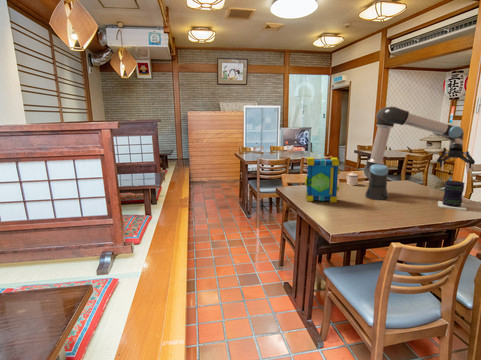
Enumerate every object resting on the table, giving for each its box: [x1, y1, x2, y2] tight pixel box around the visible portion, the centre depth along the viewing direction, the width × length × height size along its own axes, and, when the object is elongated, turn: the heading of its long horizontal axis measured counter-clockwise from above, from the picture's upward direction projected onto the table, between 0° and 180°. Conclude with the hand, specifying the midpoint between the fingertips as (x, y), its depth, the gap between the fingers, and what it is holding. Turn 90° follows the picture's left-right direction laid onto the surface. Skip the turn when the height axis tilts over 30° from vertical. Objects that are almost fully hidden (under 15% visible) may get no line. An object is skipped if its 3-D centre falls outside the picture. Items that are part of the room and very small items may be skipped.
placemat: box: [437, 200, 467, 212], centre depth 180 cm, size 14×14×1 cm
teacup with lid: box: [345, 171, 359, 186], centre depth 245 cm, size 12×9×12 cm
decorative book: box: [304, 156, 341, 203], centre depth 195 cm, size 14×23×30 cm, turn 78°
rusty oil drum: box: [442, 180, 465, 207], centre depth 179 cm, size 10×10×15 cm
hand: (454, 171), depth 185 cm, fingers open, 13 cm apart
